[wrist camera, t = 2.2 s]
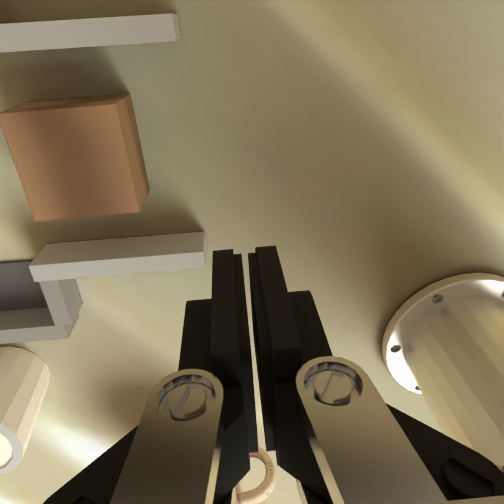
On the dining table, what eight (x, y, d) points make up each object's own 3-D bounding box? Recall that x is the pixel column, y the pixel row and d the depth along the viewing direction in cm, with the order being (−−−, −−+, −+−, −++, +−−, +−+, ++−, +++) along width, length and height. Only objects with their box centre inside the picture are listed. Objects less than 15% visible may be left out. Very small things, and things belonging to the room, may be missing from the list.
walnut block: (131, 93, 24) (115, 104, 21) (149, 188, 27) (139, 212, 24) (29, 101, 24) (-4, 113, 21) (59, 196, 27) (35, 221, 24)
